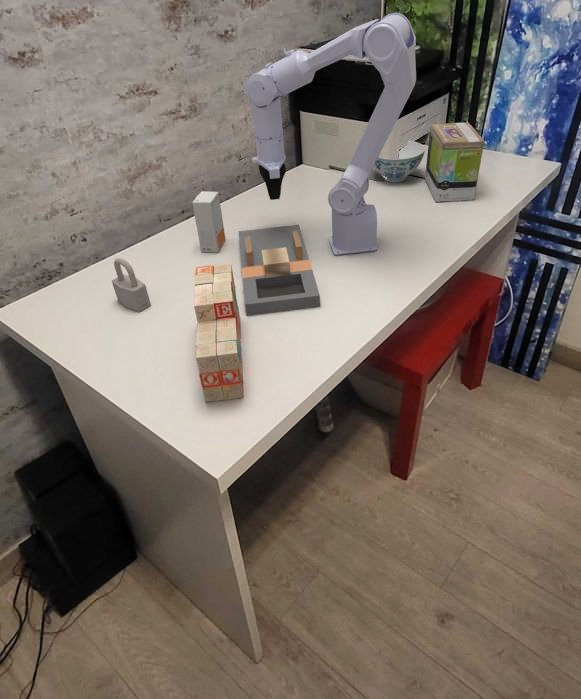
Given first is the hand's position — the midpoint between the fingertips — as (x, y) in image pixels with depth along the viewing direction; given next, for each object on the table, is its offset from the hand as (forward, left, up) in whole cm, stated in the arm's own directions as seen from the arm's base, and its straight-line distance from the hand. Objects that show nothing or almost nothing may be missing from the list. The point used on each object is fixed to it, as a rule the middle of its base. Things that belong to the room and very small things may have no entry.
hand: (274, 198), depth 117 cm
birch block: (+2, +19, -7) cm, 20 cm away
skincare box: (+15, +1, -10) cm, 18 cm away
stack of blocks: (+13, +41, -10) cm, 44 cm away
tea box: (-46, -15, -10) cm, 49 cm away
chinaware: (-35, -27, -10) cm, 45 cm away
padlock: (+31, +21, -10) cm, 39 cm away
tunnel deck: (+2, +15, -9) cm, 18 cm away
